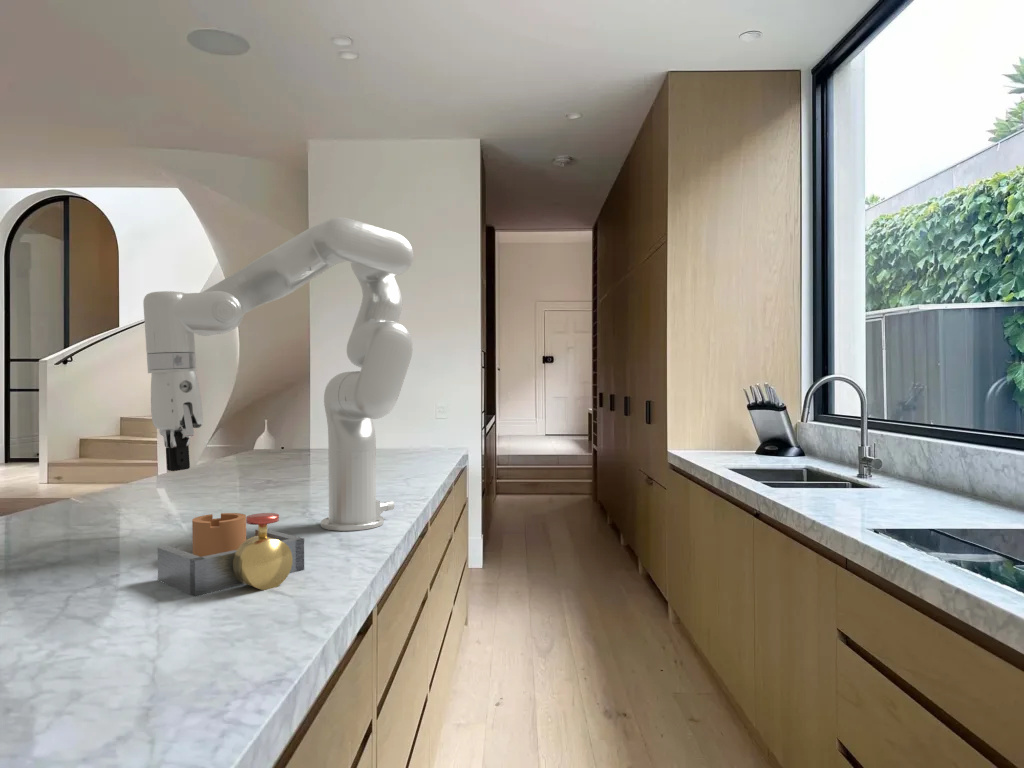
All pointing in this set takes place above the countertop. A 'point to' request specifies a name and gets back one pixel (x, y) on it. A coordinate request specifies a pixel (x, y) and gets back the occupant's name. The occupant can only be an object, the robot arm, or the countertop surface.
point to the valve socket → (235, 562)
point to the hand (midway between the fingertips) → (178, 469)
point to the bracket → (218, 533)
